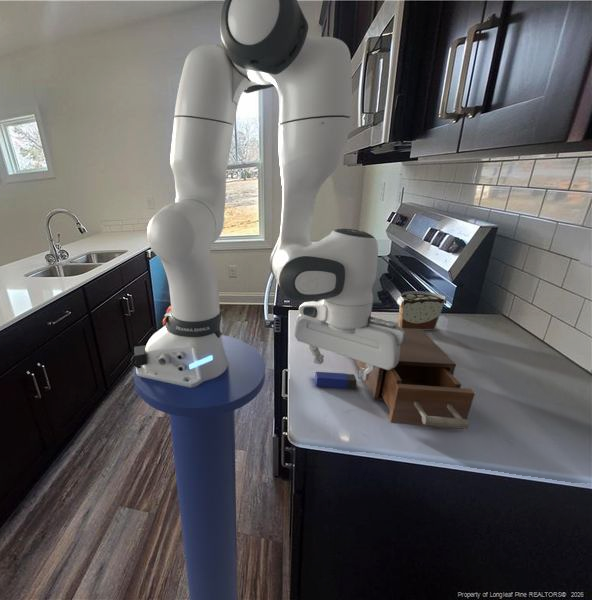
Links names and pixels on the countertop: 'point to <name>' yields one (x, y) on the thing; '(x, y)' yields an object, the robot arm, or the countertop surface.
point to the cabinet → (410, 358)
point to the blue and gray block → (335, 380)
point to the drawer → (425, 397)
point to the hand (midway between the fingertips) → (339, 370)
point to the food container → (420, 309)
